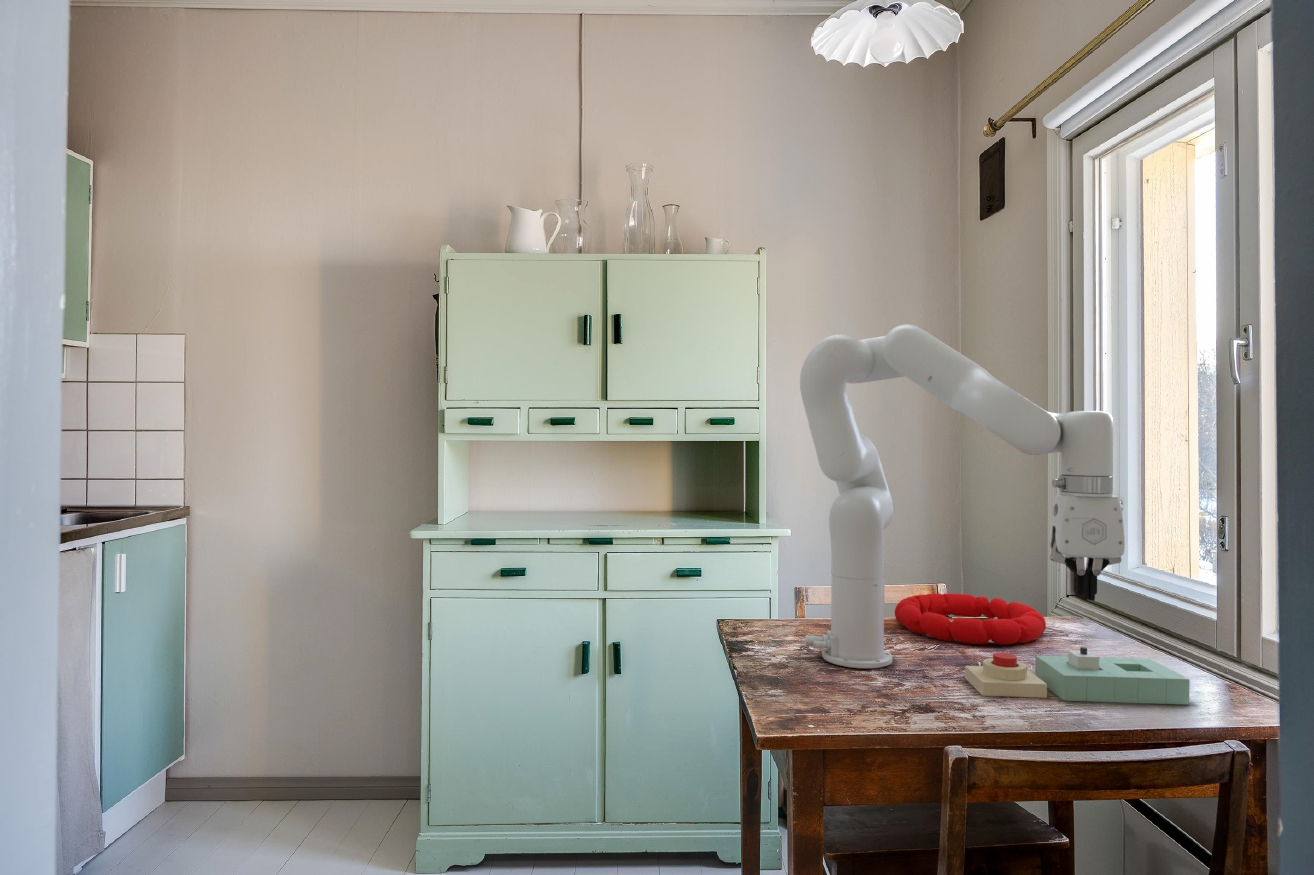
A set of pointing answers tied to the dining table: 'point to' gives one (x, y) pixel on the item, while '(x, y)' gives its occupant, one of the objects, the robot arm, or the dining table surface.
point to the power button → (1005, 660)
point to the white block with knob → (1083, 659)
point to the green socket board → (1114, 681)
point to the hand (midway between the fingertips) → (1084, 598)
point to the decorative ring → (970, 619)
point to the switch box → (1005, 680)
